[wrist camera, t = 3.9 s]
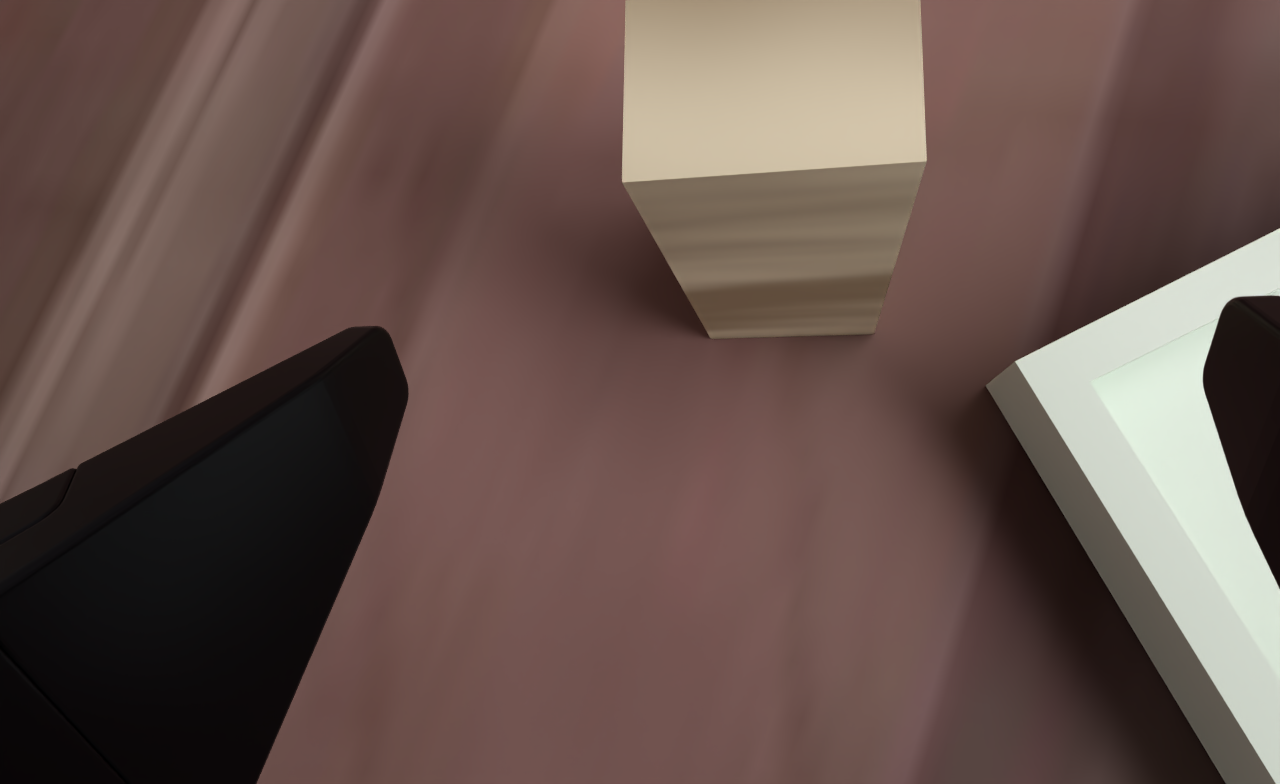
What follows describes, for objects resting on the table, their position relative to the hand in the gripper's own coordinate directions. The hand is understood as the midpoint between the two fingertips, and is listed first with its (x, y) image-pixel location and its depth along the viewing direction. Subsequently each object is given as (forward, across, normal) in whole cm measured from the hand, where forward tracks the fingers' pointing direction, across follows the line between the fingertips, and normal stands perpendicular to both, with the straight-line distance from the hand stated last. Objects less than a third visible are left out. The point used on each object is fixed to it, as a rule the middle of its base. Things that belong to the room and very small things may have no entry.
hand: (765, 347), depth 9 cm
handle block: (+11, 0, +5) cm, 12 cm away
